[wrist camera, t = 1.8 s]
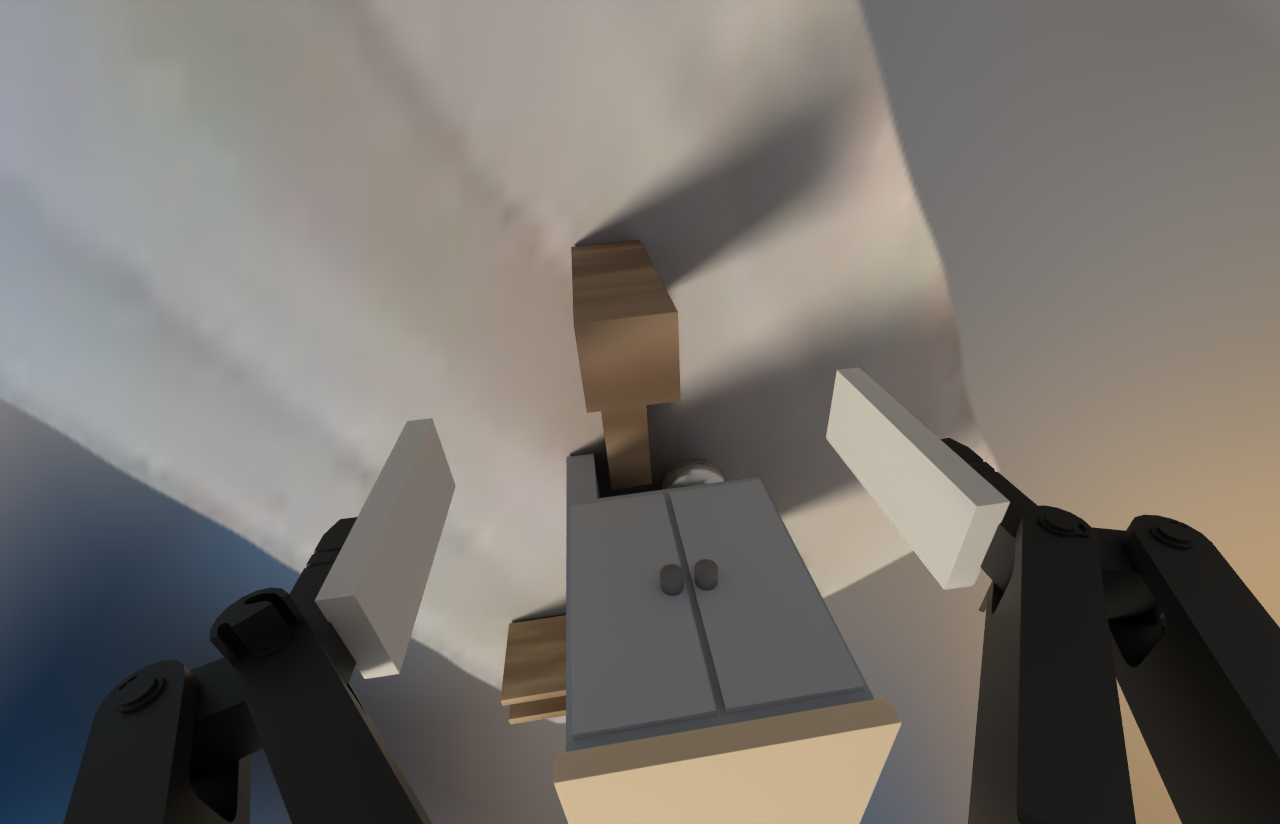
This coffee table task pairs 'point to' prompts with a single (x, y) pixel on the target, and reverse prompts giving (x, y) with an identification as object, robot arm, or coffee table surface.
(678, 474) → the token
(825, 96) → the coffee table surface
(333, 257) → the coffee table surface
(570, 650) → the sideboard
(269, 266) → the coffee table surface
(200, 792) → the robot arm
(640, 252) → the wooden block
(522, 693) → the stand
